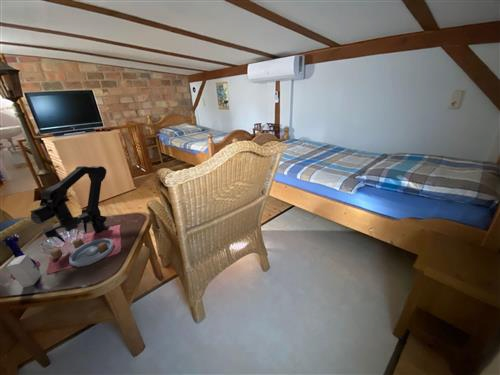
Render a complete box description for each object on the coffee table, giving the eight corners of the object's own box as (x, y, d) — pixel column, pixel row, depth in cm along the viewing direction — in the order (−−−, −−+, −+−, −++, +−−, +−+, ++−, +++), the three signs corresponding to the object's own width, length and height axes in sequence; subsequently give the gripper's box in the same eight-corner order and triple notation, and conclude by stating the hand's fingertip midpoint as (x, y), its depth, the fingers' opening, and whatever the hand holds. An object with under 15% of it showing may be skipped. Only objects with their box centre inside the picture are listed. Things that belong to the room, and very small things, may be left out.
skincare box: (34, 284, 89) (19, 263, 84) (21, 288, 88) (5, 267, 83) (42, 274, 94) (28, 253, 89) (30, 277, 93) (15, 256, 88)
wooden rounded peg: (101, 248, 106) (99, 243, 104) (110, 246, 107) (107, 241, 105) (98, 253, 102) (95, 248, 101) (107, 252, 103) (104, 246, 102)
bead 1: (56, 254, 106) (53, 249, 105) (65, 252, 107) (62, 247, 105) (51, 260, 103) (47, 254, 101) (60, 258, 103) (57, 252, 102)
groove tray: (83, 246, 111) (80, 242, 110) (119, 239, 114) (117, 235, 112) (63, 271, 95) (60, 267, 93) (105, 263, 98) (103, 259, 96)
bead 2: (77, 244, 113) (74, 239, 111) (85, 242, 113) (83, 237, 112) (73, 249, 109) (70, 243, 108) (82, 247, 110) (79, 242, 108)
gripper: (40, 227, 91) (57, 254, 98) (89, 208, 104) (101, 233, 111) (35, 219, 98) (51, 245, 104) (82, 202, 111) (93, 226, 117)
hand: (75, 237), depth 109 cm, fingers open, 9 cm apart
